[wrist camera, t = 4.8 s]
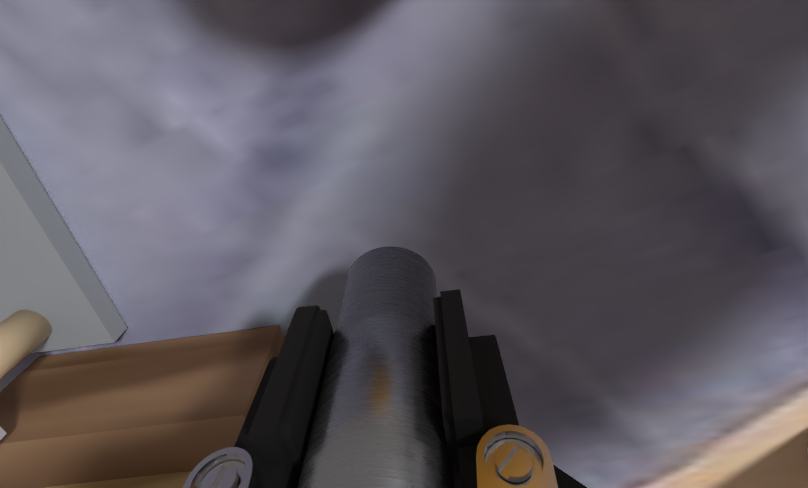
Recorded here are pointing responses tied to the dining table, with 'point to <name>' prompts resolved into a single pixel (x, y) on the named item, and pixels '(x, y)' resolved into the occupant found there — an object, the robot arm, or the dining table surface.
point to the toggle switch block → (130, 411)
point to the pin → (381, 383)
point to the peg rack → (43, 272)
